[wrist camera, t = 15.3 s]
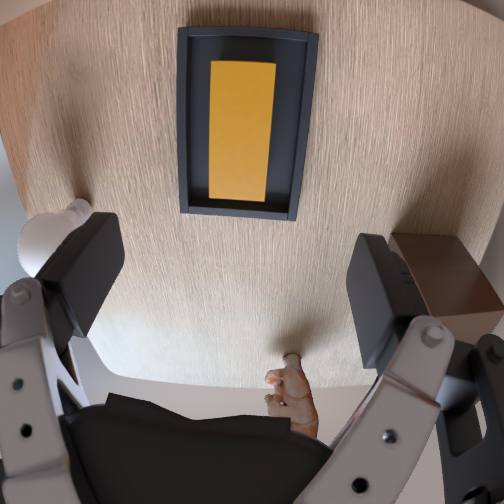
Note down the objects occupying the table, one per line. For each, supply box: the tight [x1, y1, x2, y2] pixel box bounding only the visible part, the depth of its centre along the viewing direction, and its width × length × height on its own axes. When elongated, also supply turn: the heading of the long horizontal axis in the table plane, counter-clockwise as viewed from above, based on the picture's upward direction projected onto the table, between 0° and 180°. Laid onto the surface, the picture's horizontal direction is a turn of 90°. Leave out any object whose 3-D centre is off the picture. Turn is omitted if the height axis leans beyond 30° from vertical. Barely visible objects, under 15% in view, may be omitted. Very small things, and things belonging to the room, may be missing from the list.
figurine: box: [265, 354, 319, 438], centre depth 39 cm, size 6×8×15 cm
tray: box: [177, 26, 319, 221], centre depth 24 cm, size 11×17×2 cm, turn 177°
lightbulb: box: [17, 198, 92, 278], centre depth 26 cm, size 6×6×11 cm
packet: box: [209, 60, 276, 202], centre depth 23 cm, size 11×4×4 cm, turn 177°
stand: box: [388, 233, 504, 345], centre depth 28 cm, size 9×9×12 cm
